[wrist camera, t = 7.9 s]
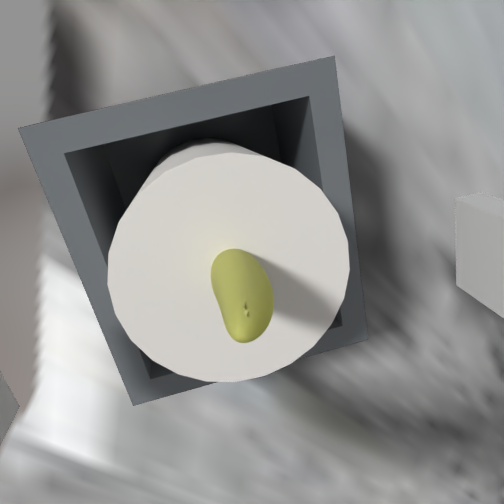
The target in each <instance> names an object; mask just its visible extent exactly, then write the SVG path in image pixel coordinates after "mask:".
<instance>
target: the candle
mask: <svg viewBox="0 0 504 504" xmlns="http://www.w3.org/2000/svg"><path fill="white" fill-rule="evenodd" d="M349 271H350V267H349V252H348V240H347V237H346V235H345V232H344V229H343V226H342V223H341V221H340V218H339V215H338V213H337V211H336V210H335V208H334V207H333V206H332V204H331V203H330V201H329V200H328V199H327V197H326V196H325V194H324V193H323V192H322V190H321V189H320V188H319V187H318V186H316V185H315V184H314V183H313V182H311V181H310V180H309V179H308V178H306V177H305V176H304V175H303V174H301V173H300V172H299V171H297V170H296V169H294V168H292V167H290V166H287V165H285V164H282V163H280V162H278V161H275V160H273V159H270V158H268V157H265V156H263V155H260V154H258V153H256V152H253V151H251V150H248V149H246V148H243V147H241V146H239V145H236V144H234V143H231V142H229V141H226V140H223V139H215V138H201V139H194V140H189V141H187V142H185V143H182V144H180V145H178V146H176V147H174V148H173V149H171V150H170V151H169V152H168V153H167V154H165V155H164V156H163V157H162V158H161V159H160V160H159V162H158V163H157V164H156V166H155V167H154V169H153V170H152V172H151V173H150V175H149V176H148V178H147V179H146V181H145V182H144V184H143V186H142V187H141V189H140V190H139V192H138V193H137V195H136V196H135V198H134V199H133V201H132V202H131V204H130V205H129V207H128V209H127V210H126V212H125V213H124V215H123V216H122V218H121V219H120V221H119V222H118V226H117V229H116V232H115V235H114V238H113V241H112V244H111V247H110V250H109V253H108V283H107V285H108V289H109V293H110V296H111V300H112V304H113V308H114V311H115V315H116V316H117V318H118V320H119V321H120V323H121V325H122V326H123V328H124V330H125V331H126V333H127V335H128V336H129V338H130V340H131V341H132V342H133V343H134V344H136V345H137V346H138V347H139V348H140V349H141V350H142V351H143V352H144V353H145V354H146V355H147V356H148V357H149V358H150V359H152V360H153V361H155V362H156V363H158V364H160V365H162V366H164V367H166V368H168V369H169V370H171V371H173V372H175V373H177V374H179V375H183V376H187V377H191V378H195V379H199V380H203V381H206V382H238V381H243V380H248V379H252V378H257V377H262V376H265V375H268V374H270V373H272V372H274V371H276V370H278V369H281V368H283V367H285V366H287V365H289V364H291V363H292V362H294V361H295V360H296V359H298V358H299V357H300V356H302V355H303V354H304V353H305V352H307V351H308V350H309V349H311V348H312V347H313V346H314V345H315V344H316V343H317V341H318V340H319V339H320V338H321V337H322V335H323V334H324V333H325V332H326V330H327V329H328V328H329V327H330V326H331V324H332V322H333V320H334V318H335V316H336V314H337V312H338V310H339V308H340V306H341V304H342V302H343V299H344V296H345V291H346V286H347V281H348V276H349Z"/></svg>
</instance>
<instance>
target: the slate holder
mask: <svg viewBox="0 0 504 504" xmlns="http://www.w3.org/2000/svg"><path fill="white" fill-rule="evenodd" d="M18 130H19V132H20V135H21V137H22V139H23V142H24V144H25V146H26V149H27V151H28V154H29V156H30V159H31V161H32V163H33V166H34V168H35V171H36V173H37V175H38V178H39V180H40V183H41V185H42V188H43V190H44V192H45V195H46V197H47V200H48V202H49V204H50V207H51V209H52V212H53V214H54V216H55V219H56V221H57V224H58V226H59V228H60V231H61V233H62V236H63V238H64V240H65V243H66V245H67V248H68V250H69V252H70V255H71V257H72V260H73V262H74V264H75V267H76V269H77V272H78V274H79V277H80V279H81V281H82V284H83V286H84V289H85V291H86V293H87V296H88V298H89V301H90V303H91V305H92V308H93V310H94V313H95V315H96V317H97V320H98V322H99V325H100V327H101V329H102V332H103V334H104V337H105V339H106V341H107V344H108V346H109V349H110V351H111V353H112V356H113V358H114V361H115V363H116V366H117V368H118V370H119V373H120V375H121V378H122V380H123V382H124V385H125V387H126V390H127V392H128V394H129V397H130V399H131V402H132V404H133V406H135V405H138V404H142V403H145V402H149V401H152V400H156V399H159V398H163V397H166V396H170V395H173V394H177V393H181V392H184V391H188V390H191V389H195V388H198V387H202V386H205V385H209V384H212V383H216V382H206V381H203V380H199V379H195V378H191V377H187V376H183V375H179V374H177V373H175V372H173V371H171V370H169V369H168V368H166V367H164V366H162V365H160V364H158V363H156V362H155V361H153V360H152V359H150V358H149V357H148V356H147V355H146V354H145V353H144V352H143V351H142V350H141V349H140V348H139V347H138V346H137V345H136V344H134V343H133V342H132V341H131V340H130V338H129V336H128V335H127V333H126V331H125V330H124V328H123V326H122V325H121V323H120V321H119V320H118V318H117V316H116V315H115V311H114V308H113V304H112V300H111V296H110V293H109V289H108V285H107V283H108V253H109V250H110V247H111V244H112V241H113V238H114V235H115V232H116V229H117V226H118V222H119V221H120V219H121V218H122V216H123V215H124V213H125V212H126V210H127V209H128V207H129V205H130V204H131V202H132V201H133V199H134V198H135V196H136V195H137V193H138V192H139V190H140V189H141V187H142V186H143V184H144V182H145V181H146V179H147V178H148V176H149V175H150V173H151V172H152V170H153V169H154V167H155V166H156V164H157V163H158V162H159V160H160V159H161V158H162V157H163V156H164V155H165V154H167V153H168V152H169V151H170V150H171V149H173V148H174V147H176V146H178V145H180V144H182V143H185V142H187V141H189V140H194V139H201V138H215V139H223V140H226V141H229V142H231V143H234V144H236V145H239V146H241V147H243V148H246V149H248V150H251V151H253V152H256V153H258V154H260V155H263V156H265V157H268V158H270V159H273V160H275V161H278V162H280V163H282V164H285V165H287V166H290V167H292V168H294V169H296V170H297V171H299V172H300V173H301V174H303V175H304V176H305V177H306V178H308V179H309V180H310V181H311V182H313V183H314V184H315V185H316V186H318V187H319V188H320V189H321V190H322V192H323V193H324V194H325V196H326V197H327V199H328V200H329V201H330V203H331V204H332V206H333V207H334V208H335V210H336V211H337V213H338V215H339V218H340V221H341V223H342V226H343V229H344V232H345V235H346V237H347V240H348V252H349V267H350V271H349V276H348V281H347V286H346V291H345V296H344V299H343V302H342V304H341V306H340V308H339V310H338V312H337V314H336V316H335V318H334V320H333V322H332V324H331V326H330V327H329V328H328V329H327V330H326V332H325V333H324V334H323V335H322V337H321V338H320V339H319V340H318V341H317V343H316V344H315V345H314V346H313V347H312V348H311V349H309V350H308V351H307V352H305V353H304V354H303V355H302V356H300V357H299V358H298V359H301V358H304V357H308V356H311V355H315V354H318V353H322V352H326V351H329V350H333V349H336V348H340V347H343V346H347V345H350V344H354V343H357V342H361V341H364V340H368V331H367V323H366V314H365V306H364V298H363V289H362V281H361V272H360V264H359V256H358V247H357V239H356V230H355V222H354V214H353V205H352V197H351V189H350V180H349V172H348V163H347V155H346V147H345V138H344V130H343V121H342V113H341V105H340V96H339V88H338V79H337V71H336V63H335V56H331V57H327V58H322V59H317V60H313V61H308V62H304V63H299V64H294V65H290V66H285V67H281V68H276V69H272V70H267V71H263V72H259V73H254V74H250V75H246V76H241V77H237V78H232V79H228V80H224V81H219V82H215V83H211V84H206V85H202V86H197V87H193V88H189V89H184V90H180V91H175V92H171V93H167V94H162V95H158V96H154V97H149V98H145V99H140V100H136V101H132V102H127V103H123V104H119V105H114V106H110V107H105V108H101V109H97V110H92V111H88V112H84V113H79V114H75V115H71V116H66V117H62V118H58V119H54V120H50V121H45V122H41V123H37V124H33V125H29V126H25V127H20V128H18ZM296 360H297V359H296Z"/></svg>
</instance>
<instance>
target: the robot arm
mask: <svg viewBox="0 0 504 504" xmlns="http://www.w3.org/2000/svg"><path fill="white" fill-rule="evenodd" d="M455 237H456V285H457V286H458V287H460V288H461V289H463V290H464V291H465V292H467V293H468V294H470V295H471V296H473V297H474V298H475V299H477V300H478V301H480V302H481V303H482V304H484V305H485V306H487V307H488V308H490V309H491V310H492V311H494V312H495V313H497V314H498V315H500V316H501V317H502V318H504V200H502V199H499V198H496V197H493V196H490V195H488V194H485V193H482V192H479V193H475V194H471V195H467V196H463V197H460V198H456V199H455ZM19 407H20V406H19V404H18V402H17V400H16V398H15V397H14V395H13V393H12V391H11V389H10V388H9V386H8V384H7V382H6V380H5V379H4V377H3V375H2V373H1V371H0V445H1V443H2V441H3V439H4V437H5V435H6V433H7V431H8V429H9V427H10V425H11V423H12V421H13V419H14V417H15V415H16V413H17V411H18V409H19Z"/></svg>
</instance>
